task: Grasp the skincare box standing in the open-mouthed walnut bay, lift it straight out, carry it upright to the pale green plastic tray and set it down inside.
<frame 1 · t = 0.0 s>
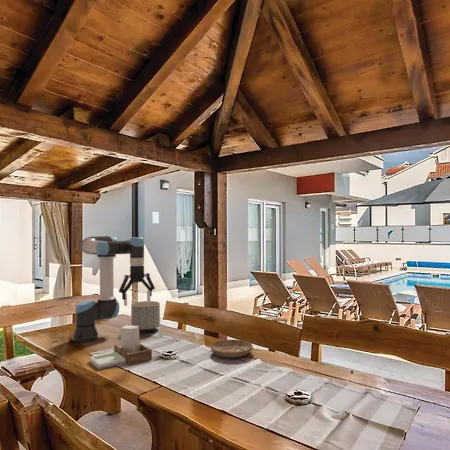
hand: (137, 303, 209), 28 cm above the table, fingers open, 13 cm apart
tray: (107, 362, 197), on the table
bay: (132, 356, 206), on the table
planter: (145, 330, 260), on the table
skincare box: (130, 355, 209), resting in bay
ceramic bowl: (231, 354, 210), on the table
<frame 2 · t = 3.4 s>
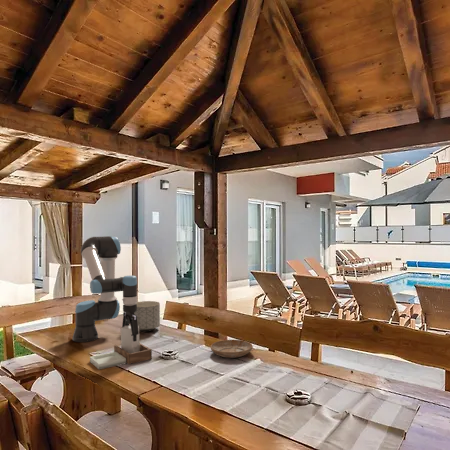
hand: (130, 344, 209), 6 cm above the table, fingers closed on skincare box, 10 cm apart
skincare box: (130, 355, 209), resting in bay, touching gripper
everything else where it was.
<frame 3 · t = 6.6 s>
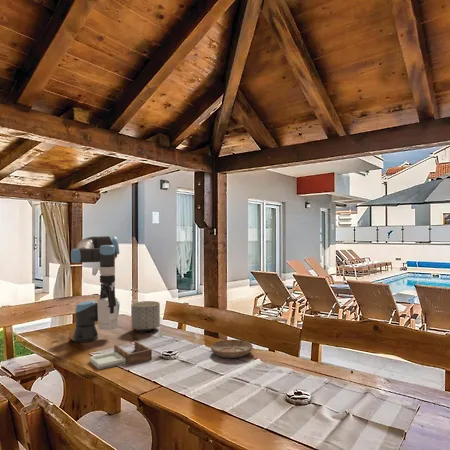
hand: (107, 317, 197), 23 cm above the table, fingers closed on skincare box, 10 cm apart
skincare box: (107, 329, 197), point 17 cm above the table, touching gripper
everything else where it was.
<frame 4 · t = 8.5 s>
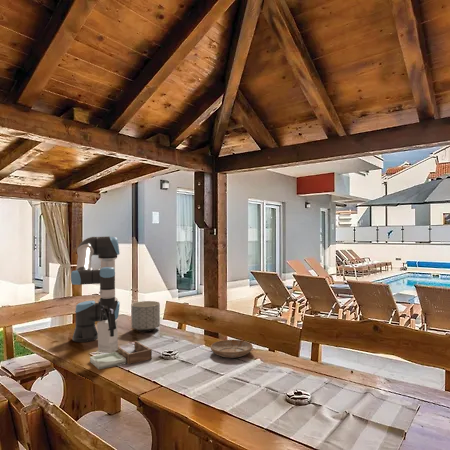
hand: (107, 340, 197), 12 cm above the table, fingers closed on skincare box, 10 cm apart
skincare box: (107, 351, 197), point 6 cm above the table, touching gripper
everything else where it was.
when the fingers open (8 cm above the table, at t = 10.2 s): skincare box drops 1 cm, resting on tray.
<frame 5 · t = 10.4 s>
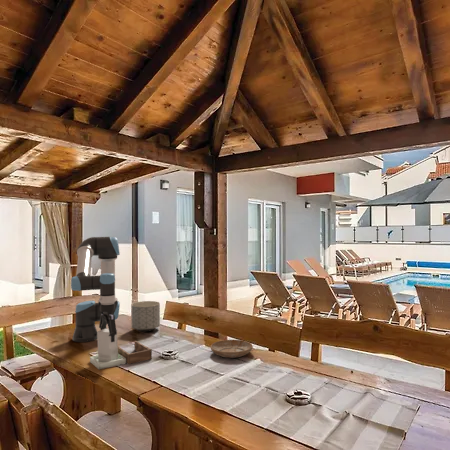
hand: (107, 345, 197), 9 cm above the table, fingers open, 12 cm apart
skincare box: (107, 360, 198), point 1 cm above the table, touching tray
everything else where it was.
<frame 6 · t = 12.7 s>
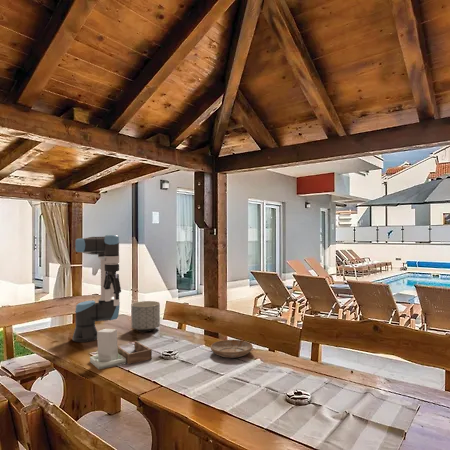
hand: (112, 303, 204), 30 cm above the table, fingers open, 13 cm apart
nothing on the table moved.
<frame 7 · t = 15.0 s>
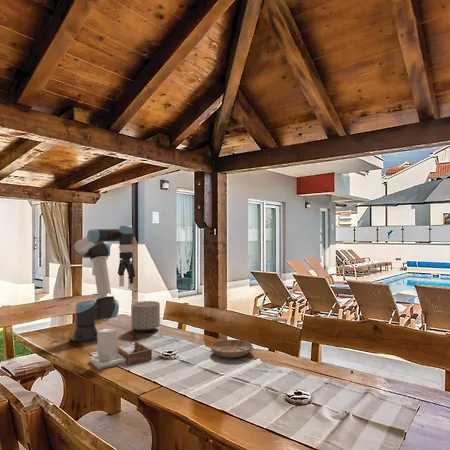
hand: (126, 287, 224), 35 cm above the table, fingers open, 13 cm apart
nothing on the table moved.
at the end: skincare box inside the target area on the tray (0.3 cm from its centre), point 1.0 cm above the tray's base; skincare box tilted 0°; the gripper is holding nothing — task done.
